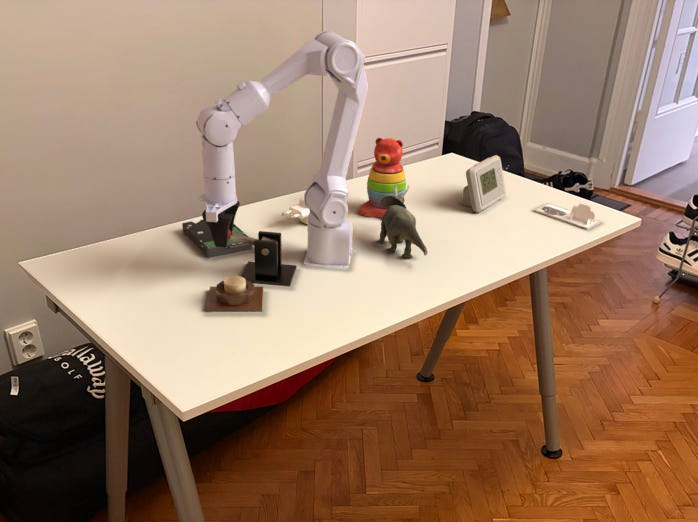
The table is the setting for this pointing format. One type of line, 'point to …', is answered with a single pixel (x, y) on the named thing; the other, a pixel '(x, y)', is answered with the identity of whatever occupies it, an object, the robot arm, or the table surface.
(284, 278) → the switch bracket
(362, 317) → the table surface
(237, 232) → the disk drive
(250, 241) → the lever
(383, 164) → the stacking bear
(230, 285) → the button
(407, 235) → the toy dinosaur
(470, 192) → the digital clock
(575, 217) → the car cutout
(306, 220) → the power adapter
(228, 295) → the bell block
